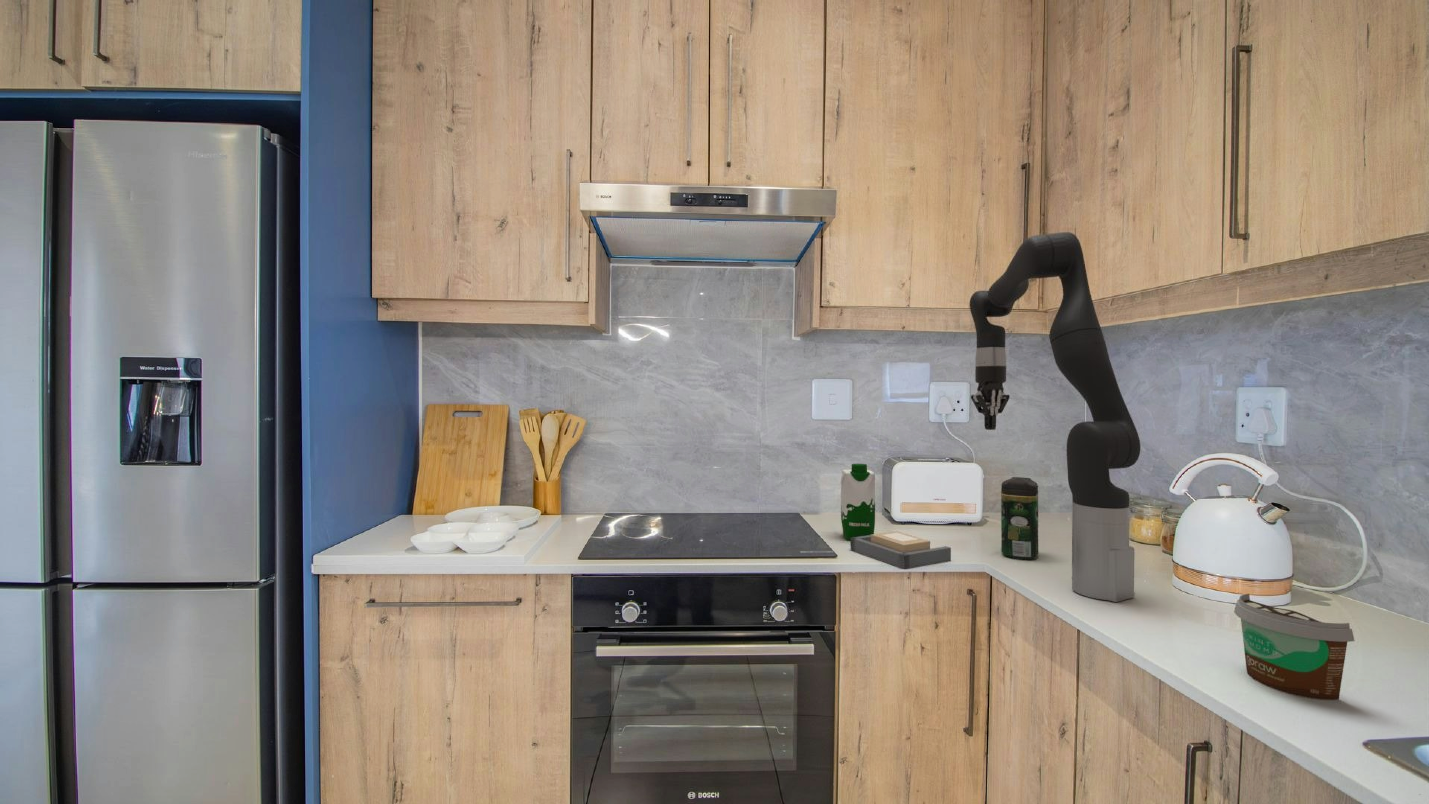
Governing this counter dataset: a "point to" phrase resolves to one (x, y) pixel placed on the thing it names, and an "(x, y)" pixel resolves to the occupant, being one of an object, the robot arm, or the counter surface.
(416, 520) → the counter surface
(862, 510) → the milk carton
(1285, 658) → the food container
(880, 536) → the carton
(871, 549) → the grey u-shaped bracket
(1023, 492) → the coffee jar
